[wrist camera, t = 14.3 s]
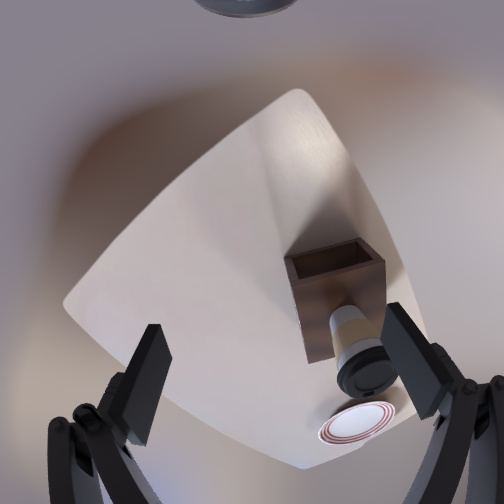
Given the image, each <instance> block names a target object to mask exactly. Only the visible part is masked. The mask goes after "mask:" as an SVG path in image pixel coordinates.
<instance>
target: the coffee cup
mask: <svg viewBox="0 0 504 504" xmlns="http://www.w3.org/2000/svg"><path fill="white" fill-rule="evenodd" d="M330 328H331V333H332V338H333V339H332V340H333V348H334V353H335V358H336V363H337V368H338V371H339V373H338V375H337V383H338V385H339V387H340V389H341V390H342V391H343V392H344V393H346V394H348V395H349V396H350V397H353V398H356V399H364V398H369V397H373V396H375V395H378V394H380V393H381V392H383V391H385V390H386V389H387V388H389V387H390V386H391V385H392V384H393V383H394V382H395V380H396V379H397V377H398V375H399V374H398V372H397V371H396V369H395V367H394V365H393V363H392V361H391V359H390V357H389V355H388V354H387V352H386V350H385V348H384V346H383V344H382V343H381V341H380V337H381V334H380V333H379V332H378V331H377V329H376V328H375V327H374V326H373V324H372V323H371V322H370V321H369V320H367V318H366V317H365V316H364V315H363V313H362V312H361V311H360V310H359V309H358V308H357V307H356V306H353V305H346V306H342V307H340V308H338V309H336V310H335V311H334V312H333V313H332V315H331V317H330Z"/></svg>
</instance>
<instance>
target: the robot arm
mask: <svg viewBox="0 0 504 504" xmlns="http://www.w3.org/2000/svg"><path fill="white" fill-rule="evenodd" d="M380 341H381V343H382V344H383V346H384V348H385V350H386V352H387V354H388V355H389V357H390V359H391V361H392V363H393V365H394V367H395V369H396V371H397V372H398V374H399V376H400V378H401V380H402V382H403V384H404V386H405V388H406V390H407V392H408V394H409V396H410V398H411V400H412V402H413V404H414V406H415V408H416V411H417V413H418V415H419V417H420V419H421V420H424V419H426V418H429V417H431V416H433V415H434V414H435V412H436V411H437V409H438V410H439V412H440V415H439V416H438V418H437V419H436V421H435V423H434V424H433V426H435V424H436V426H435V430H434V432H433V435H432V438H431V441H430V444H429V446H428V449H427V452H426V454H425V457H424V459H423V462H422V464H421V466H420V469H419V471H418V473H417V475H416V478H415V480H414V482H413V484H412V486H411V488H410V491H409V492H408V494H407V496H406V498H405V500H404V502H403V504H451V502H452V499H453V497H454V495H455V492H456V489H457V487H458V484H459V481H460V478H461V475H462V472H463V468H464V465H465V462H466V458H467V455H468V451H469V447H470V462H469V477H468V486H467V494H466V501H465V504H504V377H503V376H501V375H497V376H494V377H493V378H492V380H491V381H490V383H486V384H477V383H476V382H475V381H474V380H471V379H465V378H464V376H463V375H462V373H461V372H460V370H459V369H458V368H457V366H456V365H455V363H454V362H453V361H452V360H451V358H450V356H449V355H448V354H447V352H446V351H445V350H444V348H443V347H441V346H440V345H439V344H437V343H433V344H430V343H429V342H428V341H427V339H426V338H425V337H424V335H423V334H422V332H421V331H420V330H419V328H418V327H417V326H416V324H415V323H414V322H413V320H412V319H411V318H410V316H409V315H408V314H407V313H406V311H405V310H404V309H403V307H402V306H401V305H400V304H399V302H394V303H389V304H387V307H386V313H385V318H384V323H383V328H382V332H381V337H380ZM171 361H172V356H171V353H170V351H169V348H168V345H167V342H166V339H165V336H164V334H163V331H162V328H161V325H160V324H148V326H147V328H146V330H145V332H144V334H143V336H142V338H141V340H140V342H139V344H138V346H137V348H136V350H135V352H134V354H133V356H132V359H131V361H130V363H129V365H128V367H127V369H126V371H125V373H121V372H117V373H116V374H115V375H114V376H113V377H112V378H111V380H110V382H109V384H108V387H107V388H106V390H105V393H104V394H103V397H102V399H101V401H100V403H99V406H98V407H97V409H96V408H95V406H93V405H92V404H88V403H85V404H81V405H79V406H78V407H77V408H76V409H75V410H74V412H73V419H74V421H75V422H74V423H69V422H68V421H67V419H66V418H64V417H56V418H54V419H53V420H51V422H50V423H49V427H48V452H47V453H48V454H47V455H48V482H49V495H50V503H51V504H104V503H103V499H102V494H101V489H100V484H99V479H98V473H99V475H100V477H101V480H102V482H103V484H104V486H105V488H106V490H107V492H108V494H109V496H110V498H111V500H112V502H113V504H162V502H161V501H160V500H159V498H158V497H157V495H156V494H155V492H154V491H153V489H152V488H151V486H150V485H149V483H148V481H147V480H146V478H145V477H144V475H143V473H142V472H141V470H140V469H139V467H138V465H137V463H136V462H135V460H134V458H133V456H132V455H131V453H130V451H129V449H128V447H127V446H126V445H125V443H126V440H127V439H128V440H129V441H130V442H131V444H135V445H140V446H146V444H147V440H148V436H149V433H150V429H151V426H152V422H153V419H154V416H155V412H156V409H157V406H158V402H159V399H160V396H161V393H162V389H163V386H164V383H165V380H166V377H167V373H168V370H169V367H170V364H171ZM97 471H98V473H97Z"/></svg>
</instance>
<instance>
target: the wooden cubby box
mask: <svg viewBox="0 0 504 504" xmlns="http://www.w3.org/2000/svg"><path fill="white" fill-rule="evenodd" d="M284 262H285V266H286V270H287V274H288V278H289V282H290V286H291V291H292V295H293V299H294V303H295V308H296V312H297V316H298V321H299V325H300V330H301V334H302V338H303V343H304V347H305V351H306V356H307V360H308V364H310V363H314V362H318V361H322V360H326V359H330V358H333V357H335V353H334V348H333V340H332V339H333V338H332V333H331V328H330V317H331V315H332V313H333V312H334V311H335V310H336V309H338V308H340V307H342V306H346V305H353V306H356V307H357V308H358V309H359V310H360V311H361V312H362V313H363V315H364V316H365V317H366V318H367V320H369V321H370V322H371V323H372V324H373V326H374V327H375V328H376V329H377V331H378V332H379V333H380V334H381V332H382V328H383V323H384V318H385V313H386V269H385V260H384V259H383V258H382V257H381V256H380V255H379V254H378V253H377V252H376V251H375V250H374V249H373V248H371V247H370V246H369V245H368V244H367V243H366V242H365V241H364V240H363V239H362V238H357V239H353V240H349V241H346V242H342V243H338V244H334V245H330V246H326V247H323V248H319V249H315V250H311V251H307V252H303V253H299V254H295V255H291V256H287V257H284Z"/></svg>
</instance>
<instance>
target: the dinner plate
mask: <svg viewBox="0 0 504 504" xmlns="http://www.w3.org/2000/svg"><path fill="white" fill-rule="evenodd" d="M394 415H395V408H394V406H393V405H392V404H391V403H389V402H385V401H372V402H367V403H362V404H359V405H355V406H353V407H350V408H348V409H345V410H343V411H341V412H339V413H337V414H336V415H334V416H333V417H331V418H330V419H328V420H327V421H326V422H325V423H324V424H323V425H322V427H321V428H320V430H319V438H320V440H321V441H323V442H324V443H327V444H330V445H347V444H352V443H356V442H359V441H362V440H365V439H367V438H369V437H371V436H373V435H375V434H377V433H378V432H380V431H381V430H382V429H384V428H385V427H386V426H387V425H388V424H389V423H390V422H391V421H392V419H393V417H394Z"/></svg>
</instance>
